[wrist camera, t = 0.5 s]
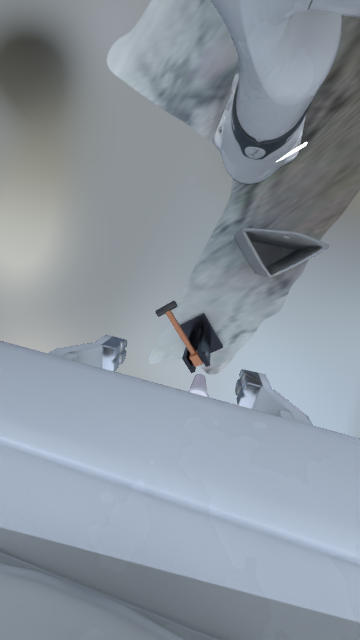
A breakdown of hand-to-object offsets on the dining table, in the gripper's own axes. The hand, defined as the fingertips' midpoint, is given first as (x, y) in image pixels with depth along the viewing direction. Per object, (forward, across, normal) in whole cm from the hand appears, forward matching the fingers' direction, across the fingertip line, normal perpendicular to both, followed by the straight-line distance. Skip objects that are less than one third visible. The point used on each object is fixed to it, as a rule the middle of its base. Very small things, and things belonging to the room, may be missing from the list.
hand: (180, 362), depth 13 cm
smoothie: (+44, -5, +31) cm, 54 cm away
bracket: (+43, -2, +16) cm, 46 cm away
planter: (+43, -12, -10) cm, 46 cm away
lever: (+31, +3, +11) cm, 33 cm away
